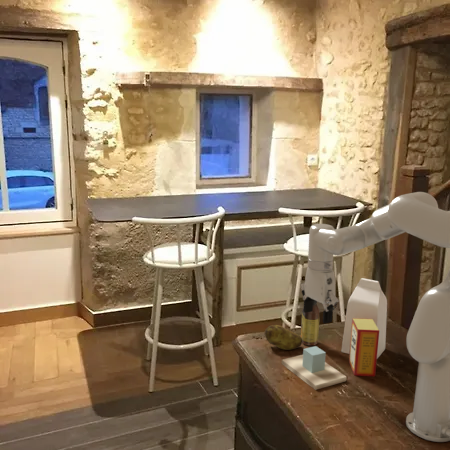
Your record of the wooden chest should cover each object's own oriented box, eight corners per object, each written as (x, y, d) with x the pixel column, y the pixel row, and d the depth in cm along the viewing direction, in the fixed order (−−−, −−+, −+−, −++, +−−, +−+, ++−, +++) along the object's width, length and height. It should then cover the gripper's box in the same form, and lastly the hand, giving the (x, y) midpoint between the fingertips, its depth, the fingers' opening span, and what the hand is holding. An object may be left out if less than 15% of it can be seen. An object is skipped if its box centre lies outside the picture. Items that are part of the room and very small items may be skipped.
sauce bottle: (305, 337, 191) (308, 286, 187) (320, 342, 188) (324, 290, 183) (297, 343, 186) (300, 291, 182) (312, 348, 182) (316, 295, 178)
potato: (298, 355, 177) (299, 334, 175) (262, 349, 181) (262, 328, 179) (302, 345, 184) (304, 324, 183) (267, 339, 188) (268, 319, 187)
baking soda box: (348, 361, 174) (352, 316, 170) (368, 362, 173) (372, 317, 170) (354, 375, 164) (358, 328, 161) (375, 376, 164) (379, 329, 161)
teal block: (324, 369, 164) (325, 352, 163) (311, 373, 162) (312, 355, 161) (314, 363, 169) (316, 346, 167) (302, 366, 166) (303, 349, 165)
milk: (341, 351, 181) (346, 281, 175) (352, 340, 190) (358, 272, 184) (375, 361, 174) (381, 288, 168) (385, 348, 184) (392, 279, 178)
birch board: (346, 381, 161) (346, 376, 160) (315, 389, 155) (315, 385, 155) (310, 356, 176) (311, 352, 176) (281, 363, 171) (281, 359, 170)
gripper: (348, 270, 152) (345, 324, 156) (312, 256, 167) (310, 306, 171) (328, 273, 149) (325, 329, 152) (293, 258, 164) (291, 309, 167)
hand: (317, 317), depth 161 cm, fingers open, 9 cm apart
